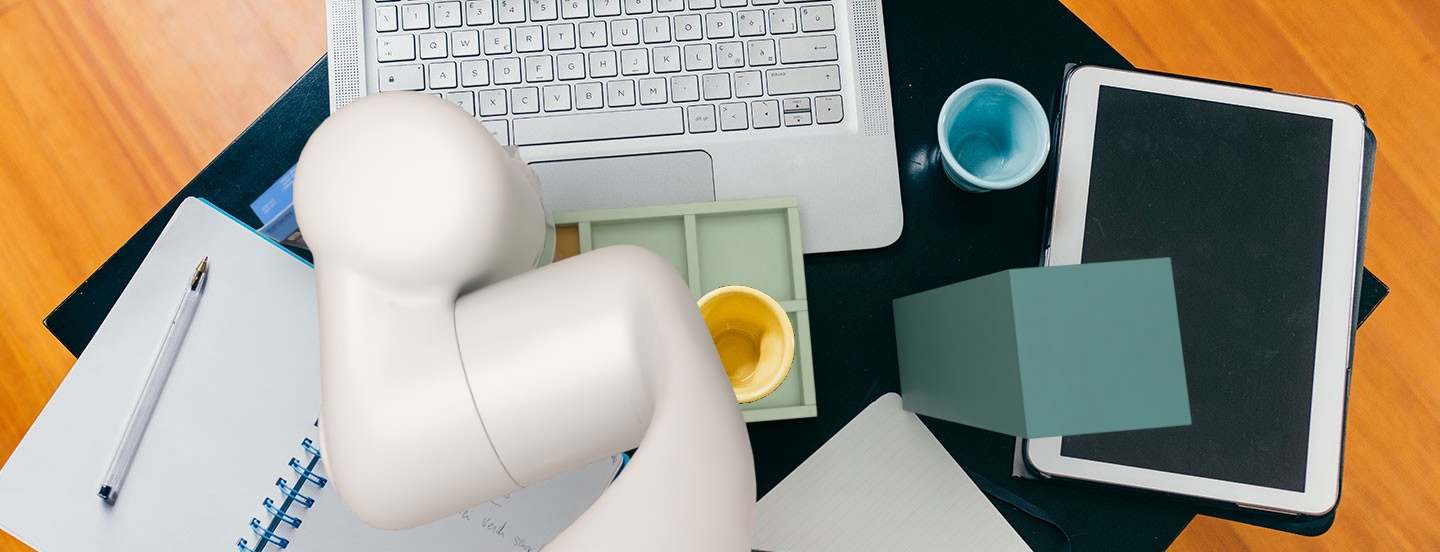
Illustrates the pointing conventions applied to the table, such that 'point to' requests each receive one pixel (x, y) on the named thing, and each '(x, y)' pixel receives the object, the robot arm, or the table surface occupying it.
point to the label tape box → (279, 212)
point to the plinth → (1047, 350)
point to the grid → (719, 266)
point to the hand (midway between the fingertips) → (533, 271)
